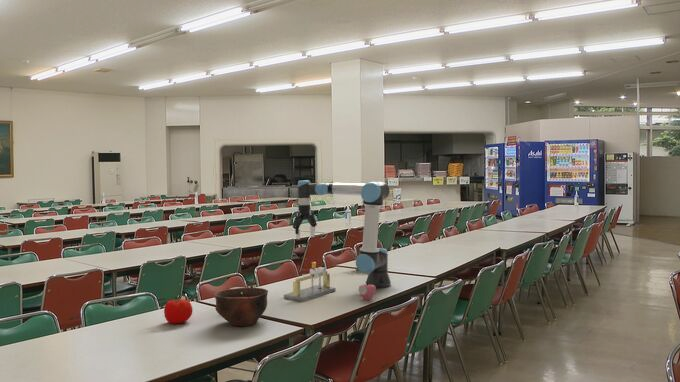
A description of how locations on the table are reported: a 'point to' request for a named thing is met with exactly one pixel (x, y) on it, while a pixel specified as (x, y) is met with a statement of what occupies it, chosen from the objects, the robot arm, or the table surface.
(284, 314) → the table surface
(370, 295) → the apple
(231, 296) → the bowl
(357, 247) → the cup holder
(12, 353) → the table surface
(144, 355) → the table surface
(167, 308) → the tomato
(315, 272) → the slider leg
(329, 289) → the grey and yellow frame
